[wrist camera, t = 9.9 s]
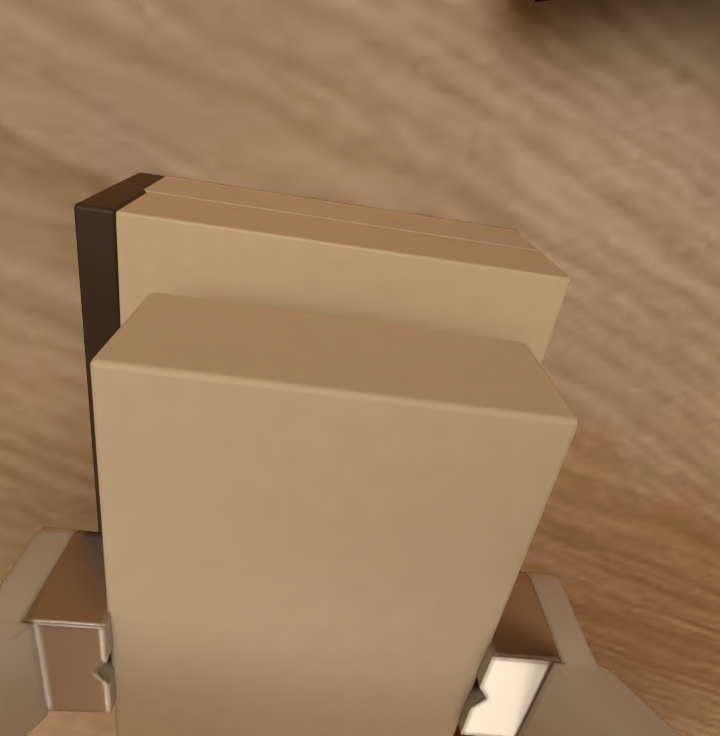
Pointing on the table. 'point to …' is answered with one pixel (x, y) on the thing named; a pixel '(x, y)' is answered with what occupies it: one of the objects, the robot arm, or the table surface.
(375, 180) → the table surface
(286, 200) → the tan rectangular block
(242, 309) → the beige block
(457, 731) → the plant
